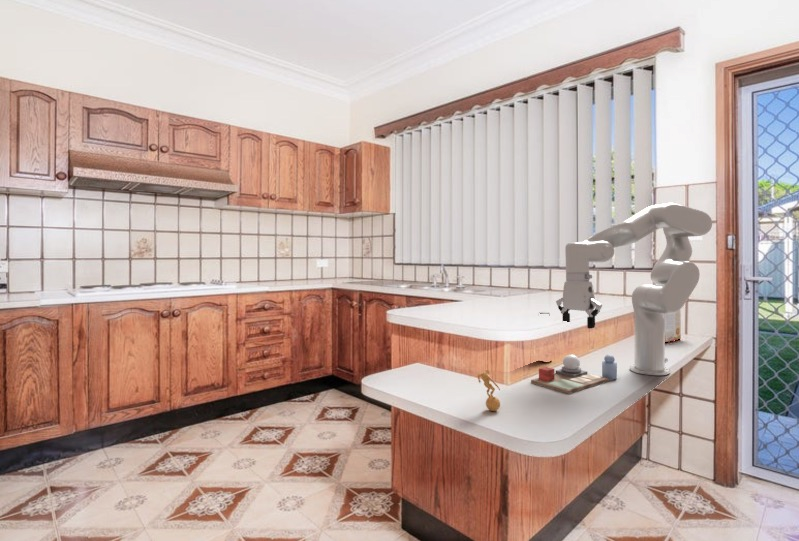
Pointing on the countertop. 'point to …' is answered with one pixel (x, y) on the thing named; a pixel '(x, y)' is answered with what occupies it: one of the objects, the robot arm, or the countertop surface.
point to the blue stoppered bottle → (609, 368)
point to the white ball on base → (571, 364)
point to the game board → (567, 380)
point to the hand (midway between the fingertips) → (578, 326)
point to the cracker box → (672, 326)
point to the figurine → (492, 401)
